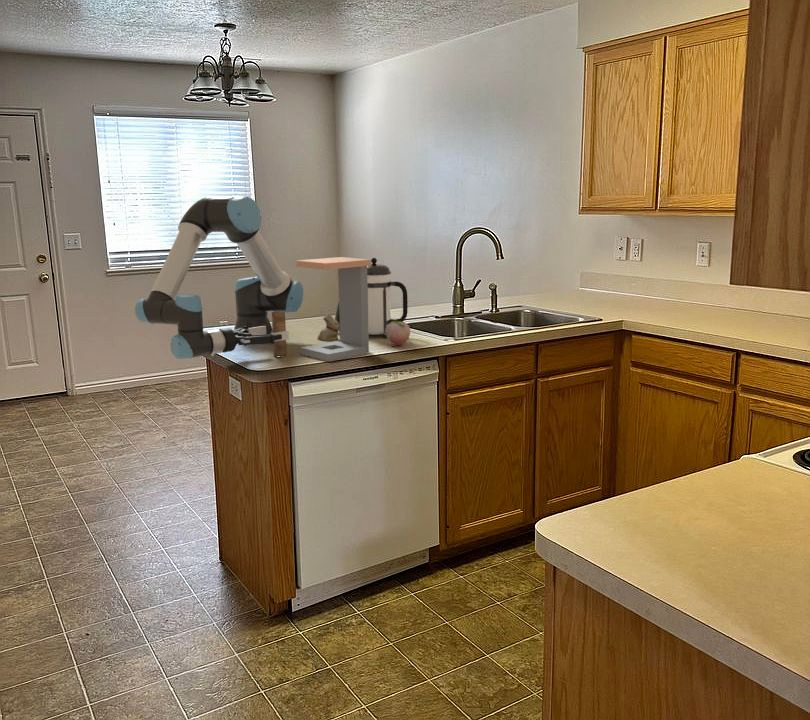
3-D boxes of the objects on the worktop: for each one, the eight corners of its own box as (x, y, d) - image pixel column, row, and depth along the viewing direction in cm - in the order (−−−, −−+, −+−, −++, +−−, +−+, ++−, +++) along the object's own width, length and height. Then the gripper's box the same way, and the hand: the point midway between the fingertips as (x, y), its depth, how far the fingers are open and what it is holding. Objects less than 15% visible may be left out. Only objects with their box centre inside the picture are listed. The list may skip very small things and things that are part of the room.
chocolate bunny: (332, 341, 277) (332, 315, 275) (316, 339, 281) (315, 313, 279) (341, 339, 282) (340, 312, 279) (325, 337, 286) (324, 311, 283)
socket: (300, 354, 255) (296, 260, 248) (343, 346, 267) (341, 257, 260) (328, 361, 243) (325, 263, 236) (372, 353, 256) (370, 259, 249)
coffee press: (371, 341, 276) (369, 260, 270) (348, 335, 289) (346, 257, 283) (408, 336, 286) (408, 257, 280) (385, 330, 299) (384, 255, 292)
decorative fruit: (415, 346, 267) (415, 318, 265) (398, 349, 262) (398, 321, 260) (398, 342, 274) (398, 315, 272) (381, 345, 269) (381, 318, 267)
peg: (271, 355, 253) (269, 312, 250) (282, 353, 256) (280, 310, 253) (278, 357, 250) (276, 313, 246) (289, 355, 253) (287, 312, 249)
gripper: (201, 347, 245) (257, 338, 260) (241, 358, 228) (298, 348, 242) (200, 324, 244) (255, 317, 258) (240, 334, 226) (297, 325, 240)
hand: (276, 332), depth 250 cm, fingers open, 13 cm apart
